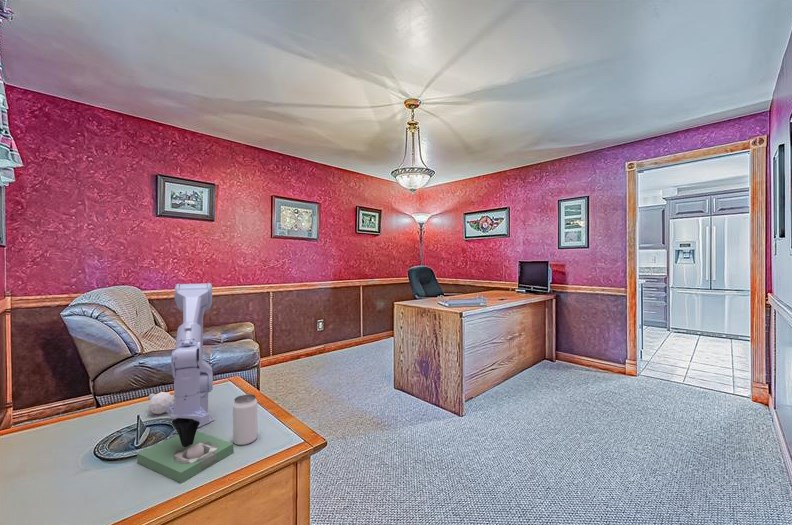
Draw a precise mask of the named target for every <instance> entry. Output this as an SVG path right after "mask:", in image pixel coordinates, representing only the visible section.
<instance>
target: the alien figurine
mask: <svg viewBox="0 0 792 525" xmlns="http://www.w3.org/2000/svg"><path fill="white" fill-rule="evenodd" d="M147 398H148V400H149V401H148V409H149V410H150V412H151V413H153V414H155V415H162V414H165V413H167V406H168V405H171V404H174V396H172V395H171V394H170V392H165V391H161V392H158V393H156V394H155V393H150V394H149V395H148V396H147Z"/></svg>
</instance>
